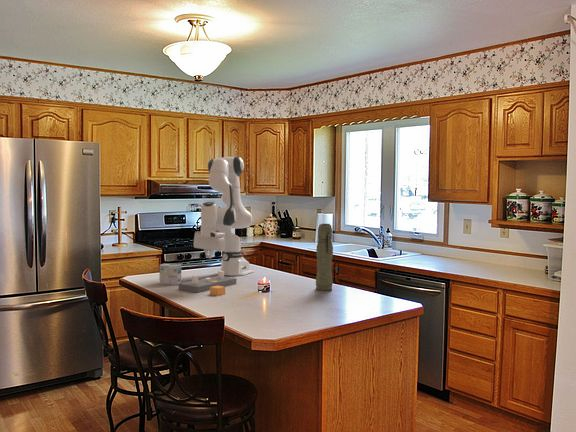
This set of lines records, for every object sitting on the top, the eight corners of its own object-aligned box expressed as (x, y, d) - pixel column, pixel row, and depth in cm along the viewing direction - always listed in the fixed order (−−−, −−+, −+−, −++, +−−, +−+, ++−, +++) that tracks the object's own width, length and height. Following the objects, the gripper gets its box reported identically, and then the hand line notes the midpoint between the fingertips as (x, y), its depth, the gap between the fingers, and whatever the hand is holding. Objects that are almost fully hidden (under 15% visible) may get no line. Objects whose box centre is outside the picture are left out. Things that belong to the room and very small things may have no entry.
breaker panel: (217, 280, 300) (217, 275, 299) (236, 283, 292) (236, 278, 291) (178, 289, 275) (178, 283, 275) (197, 292, 267) (197, 286, 267)
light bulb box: (181, 282, 293) (181, 263, 292) (178, 285, 286) (178, 265, 286) (163, 282, 294) (163, 263, 294) (159, 284, 288) (159, 264, 287)
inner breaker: (220, 278, 293) (220, 270, 293) (224, 278, 292) (224, 271, 291) (217, 278, 291) (217, 271, 291) (221, 279, 290) (221, 271, 289)
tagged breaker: (208, 285, 285) (208, 277, 285) (211, 286, 284) (211, 278, 283) (205, 286, 283) (205, 278, 283) (208, 286, 282) (208, 278, 281)
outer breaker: (195, 283, 277) (195, 275, 276) (198, 284, 275) (198, 276, 275) (191, 284, 275) (191, 276, 275) (195, 284, 273) (195, 276, 273)
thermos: (323, 292, 273) (324, 225, 270) (311, 288, 283) (312, 223, 280) (337, 290, 277) (338, 224, 275) (324, 286, 287) (325, 222, 285)
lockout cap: (217, 292, 268) (217, 285, 268) (225, 293, 265) (225, 286, 265) (210, 294, 264) (210, 287, 264) (218, 295, 261) (218, 288, 261)
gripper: (190, 231, 285) (190, 256, 286) (218, 234, 273) (218, 260, 275) (199, 230, 290) (199, 254, 291) (226, 233, 278) (226, 259, 280)
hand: (208, 257), depth 283 cm, fingers closed
